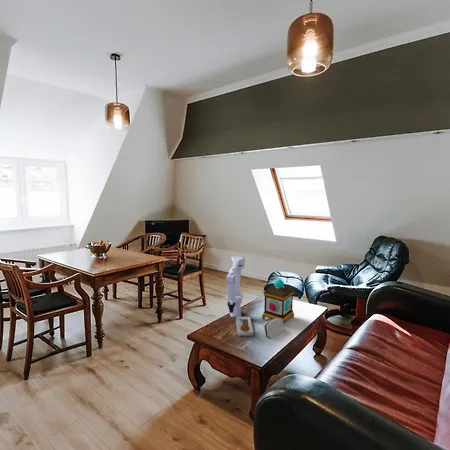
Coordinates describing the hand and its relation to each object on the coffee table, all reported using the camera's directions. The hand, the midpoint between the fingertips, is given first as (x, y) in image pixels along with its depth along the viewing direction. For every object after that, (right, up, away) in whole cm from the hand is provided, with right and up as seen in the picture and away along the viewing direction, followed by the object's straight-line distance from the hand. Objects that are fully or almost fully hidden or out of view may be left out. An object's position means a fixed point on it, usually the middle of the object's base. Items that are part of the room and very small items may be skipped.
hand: (231, 310), depth 208 cm
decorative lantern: (+35, -9, +10) cm, 37 cm away
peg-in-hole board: (+9, -11, -3) cm, 15 cm away
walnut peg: (+9, -12, -9) cm, 18 cm away
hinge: (+29, -12, -10) cm, 33 cm away
